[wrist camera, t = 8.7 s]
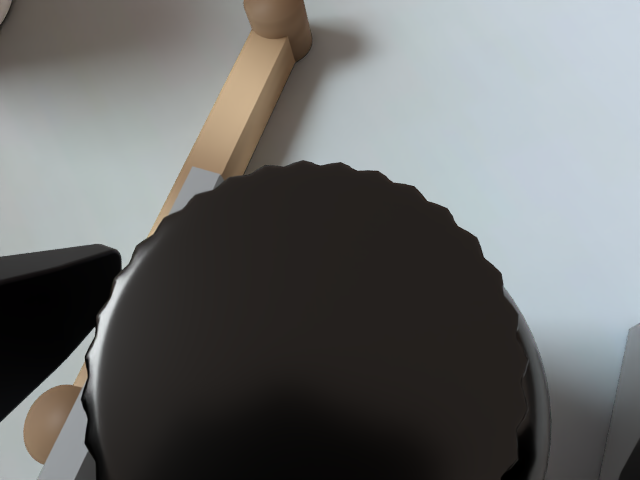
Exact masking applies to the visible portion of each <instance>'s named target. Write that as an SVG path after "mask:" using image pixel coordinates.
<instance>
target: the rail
mask: <svg viewBox="0 0 640 480" xmlns="http://www.w3.org/2000/svg"><path fill="white" fill-rule="evenodd" d="M244 8H245V11H246V14H247V17H248V19H249V22H250V25H251V28H252V30H251V32H250V34H249V36H248V38H247V40H246V42H245V44H244V46H243V48H242V50H241V52H240V54H239V56H238V58H237V60H236V62H235V64H234V66H233V68H232V70H231V72H230V74H229V76H228V78H227V80H226V82H225V84H224V86H223V88H222V90H221V92H220V94H219V96H218V98H217V100H216V102H215V104H214V106H213V108H212V110H211V112H210V114H209V116H208V118H207V120H206V122H205V124H204V126H203V128H202V130H201V132H200V134H199V136H198V138H197V140H196V142H195V144H194V146H193V148H192V150H191V152H190V154H189V156H188V157H187V159H186V161H185V163H184V165H183V167H182V169H181V171H180V173H179V175H178V177H177V179H176V181H175V183H174V185H173V187H172V189H171V191H170V193H169V195H168V197H167V199H166V201H165V203H164V205H163V207H162V209H161V211H160V213H159V215H158V217H157V219H156V221H155V223H154V225H153V227H152V229H151V231H150V233H149V235H148V237H150V236H151V235H153V234H154V232H155V231H156V229H157V227H158V225H159V224H160V223H161V221H162V220H163V218H164V217H166V216H168V215H169V213H170V211H171V209H172V207H173V205H174V203H175V201H176V199H177V196H178V194H179V192H180V190H181V188H182V186H183V184H184V182H185V180H186V178H187V176H188V174H189V172H190V170H191V168H192V166H193V167H197V168H200V169H204V170H207V171H211V172H214V173H218V174H220V175H221V176H222V178H223V179H224V180H226V179H227V178H228V177H233V176H242V175H243V174H244V172H245V170H246V168H247V165H248V163H249V161H250V159H251V157H252V155H253V152H254V150H255V148H256V146H257V144H258V142H259V139H260V137H261V135H262V133H263V131H264V129H265V126H266V124H267V122H268V120H269V118H270V116H271V113H272V111H273V109H274V107H275V105H276V103H277V101H278V98H279V96H280V94H281V92H282V90H283V88H284V85H285V83H286V81H287V79H288V77H289V75H290V72H291V70H292V68H293V66H294V64H295V62H297V61H299V60H300V59H302V58H303V57H304V56H305V55H306V54H307V53H308V51H309V50H310V48H311V45H312V35H311V31H310V27H309V22H308V18H307V14H306V9H305V5H304V1H303V0H244ZM148 237H147V238H148ZM87 378H88V375H87V369H86V364H85V362H84V364H83V366H82V368H81V370H80V372H79V374H78V376H77V378H76V380H75V382H74V384H73V385H60V386H56V387H53V388H51V389H49V390H47V391H46V392H44V393H43V394H42V395H41V396H40V397H39V398H38V399H37V400H36V401H35V402H34V404H33V405H32V406H31V408H30V410H29V412H28V414H27V417H26V420H25V424H24V431H23V432H24V442H25V446H26V448H27V451H28V452H29V454H30V455H31V456H32V458H34V459H35V460H36V461H37V462H39V463H41V464H45V462H46V460H47V458H48V456H49V454H50V452H51V450H52V448H53V446H54V444H55V442H56V440H57V438H58V436H59V434H60V432H61V430H62V428H63V426H64V424H65V422H66V420H67V418H68V416H69V414H70V412H71V410H72V408H73V406H74V404H75V402H76V400H77V398H78V396H79V394H80V392H81V390H82V388H83V386H84V384H85V382H86V380H87Z"/></svg>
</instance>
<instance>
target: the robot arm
mask: <svg viewBox="0 0 640 480" xmlns="http://www.w3.org/2000/svg"><path fill="white" fill-rule="evenodd" d="M120 271H122V264H121V255H120V253H119V251H118V250H116V249H113V248H111V247H108V246H105V245H102V244H93V245H85V246H78V247H70V248H63V249H55V250H48V251H40V252H33V253H25V254H18V255H10V256H3V257H0V422H1V421H2V420H3V419H4V418H5V417H6V416H7V415H8V414H10V413H11V412H12V411H13V410H14V409H15V408H16V407H17V406H18V405H19V404H20V403H21V402H22V401H23V400H24V399H25V398H26V397H27V396H28V395H30V394H31V393H32V392H33V391H34V390H35V389H36V388H37V387H38V386H39V385H40V384H41V383H42V382H43V381H44V380H45V379H46V378H47V377H49V376H50V375H51V374H52V373H53V372H54V371H55V370H56V369H57V368H58V367H59V366H60V365H61V364H62V363H63V362H64V361H65V360H66V359H67V358H68V357H69V356H70V354H71V353H72V352H73V351H74V350H75V349H76V348H77V347H78V346H79V344H80V343H81V342H82V341H83V340H84V339H85V337H86V336H87V335H88V334H89V333H90V332H91V331H92V329H93V328H94V327H95V321H96V315H97V314H98V312H99V311H100V309H101V308H102V307H103V305H104V304H105V303H106V302H107V300H108V299H109V296H110V290H111V286H112V282H113V279H114V278H115V277H116V276H117V275H118V273H119V272H120ZM618 480H640V438H639V439H638V441H637V443H636V445H635V446H634V448H633V450H632V452H631V454H630V456H629V457H628V459H627V461H626V463H625V465H624V467H623V468H622V470H621V472H620V475H619V478H618Z"/></svg>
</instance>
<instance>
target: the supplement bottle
mask: <svg viewBox="0 0 640 480" xmlns="http://www.w3.org/2000/svg"><path fill="white" fill-rule="evenodd" d="M95 328H96V331H95V337H94V339H93V341H92V343H91V345H90V346H89V348H88V351H87V353H86V355H85V364H86V369H87V375H88V378H87V380H86V383H85V386H84V389H83V393H82V396H81V403H82V406H83V409H84V411H85V413H86V416H87V419H88V420H87V426H86V432H85V441H84V444H85V446H86V448H87V449H88V451H89V453H90V455H91V456H92V457H93V459H94V460H95V464H96V480H544V478H545V474H546V470H547V465H548V458H549V450H550V440H551V412H550V398H549V392H548V386H547V380H546V375H545V371H544V367H543V364H542V360H541V356H540V353H539V351H538V348H537V345H536V343H535V340H534V337H533V335H532V333H531V331H530V329H529V327H528V325H527V322H526V320H525V318H524V316H523V315H522V313H521V312H520V310H519V308H518V307H517V305H516V303H515V302H514V300H513V299H512V297H511V296H510V295H509V293H508V292H507V290H506V289H505V288H504V286H503V279H502V273H501V272H500V271H499V270H498V269H496V268H495V267H494V266H493V265H492V264H491V263H490V262H489V261H487V260H486V259H485V258H484V256H483V253H482V249H481V246H480V243H479V241H478V238H477V237H475V236H474V235H472V234H471V233H469V232H468V231H466V230H464V229H462V228H460V227H459V226H457V224H456V223H455V221H454V218H453V216H452V214H451V213H450V211H449V210H448V208H445V207H443V206H441V205H438V204H435V203H432V202H429V201H427V200H426V199H425V198H424V196H423V195H422V194H421V193H420V192H419V191H418V190H417V189H416V188H415V186H411V185H407V184H401V183H393V182H392V181H390V180H389V179H388V178H387V177H386V176H385V175H383V174H382V173H381V172H379V171H370V170H366V171H357V170H355V169H352V168H351V167H350V166H348V165H346V164H343V163H341V162H339V163H331V164H326V165H321V166H320V165H316V164H314V163H312V162H308V161H304V160H302V161H299V162H295V163H292V164H290V165H287V166H285V167H281V166H273V165H265V166H263V167H261V168H259V169H257V170H256V171H255V172H253V173H251V174H249V175H242V176H233V177H228V178H227V179H226V180H224V181H223V182H222V183H221V184H220V185H219V186H218V187H216V188H215V189H214V190H209V191H205V192H201V193H198V194H195V195H194V196H193V197H192V198H191V199H190V200H189V201H188V203H187V205H186V206H185V207H184V208H183V209H181V210H179V211H176V212H174V213H172V214H170V215H168V216H166V217H164V218H163V220H162V221H161V223H160V224H159V225H158V227H157V229H156V231H155V232H154V234H153V235H151V236H150V237H148V238H147V239H145V240H143V241H142V242H141V243H139V244H138V245H137V246H136V248H135V250H134V252H133V254H132V258H131V260H130V262H129V264H128V265H127V266H126V267H125V268H124V269H123V270H122V271H120V272H119V273H118V275H117V276H116V277H115V278H114V279H113V282H112V286H111V290H110V296H109V299H108V300H107V302H106V303H105V304H104V305H103V307H102V308H101V309H100V311H99V312H98V314H97V315H96V321H95Z"/></svg>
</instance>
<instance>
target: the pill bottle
mask: <svg viewBox="0 0 640 480" xmlns="http://www.w3.org/2000/svg"><path fill="white" fill-rule="evenodd" d="M11 2H12V0H0V24H1V23H2V21H3V20H4V18H5V16H6V14H7V12H8V10H9V8H10V5H11Z"/></svg>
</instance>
